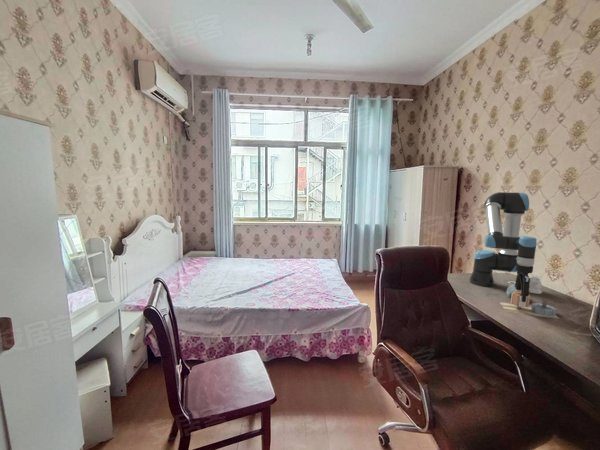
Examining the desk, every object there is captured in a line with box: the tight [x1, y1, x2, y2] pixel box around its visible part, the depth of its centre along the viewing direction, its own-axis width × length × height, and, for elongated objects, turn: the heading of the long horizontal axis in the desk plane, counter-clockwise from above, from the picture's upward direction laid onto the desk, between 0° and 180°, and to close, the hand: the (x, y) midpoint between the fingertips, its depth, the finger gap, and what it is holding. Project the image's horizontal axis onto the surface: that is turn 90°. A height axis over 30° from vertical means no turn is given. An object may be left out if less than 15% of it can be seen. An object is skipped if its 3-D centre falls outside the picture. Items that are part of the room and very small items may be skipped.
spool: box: [506, 284, 517, 299], centre depth 182 cm, size 14×10×10 cm
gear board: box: [499, 299, 560, 320], centre depth 164 cm, size 14×24×8 cm, turn 67°
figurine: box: [529, 274, 543, 295], centre depth 195 cm, size 12×9×10 cm
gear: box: [531, 302, 557, 316], centre depth 162 cm, size 10×10×3 cm
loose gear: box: [510, 291, 531, 307], centre depth 165 cm, size 8×8×6 cm
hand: (519, 303), depth 165 cm, fingers closed on loose gear, 8 cm apart
